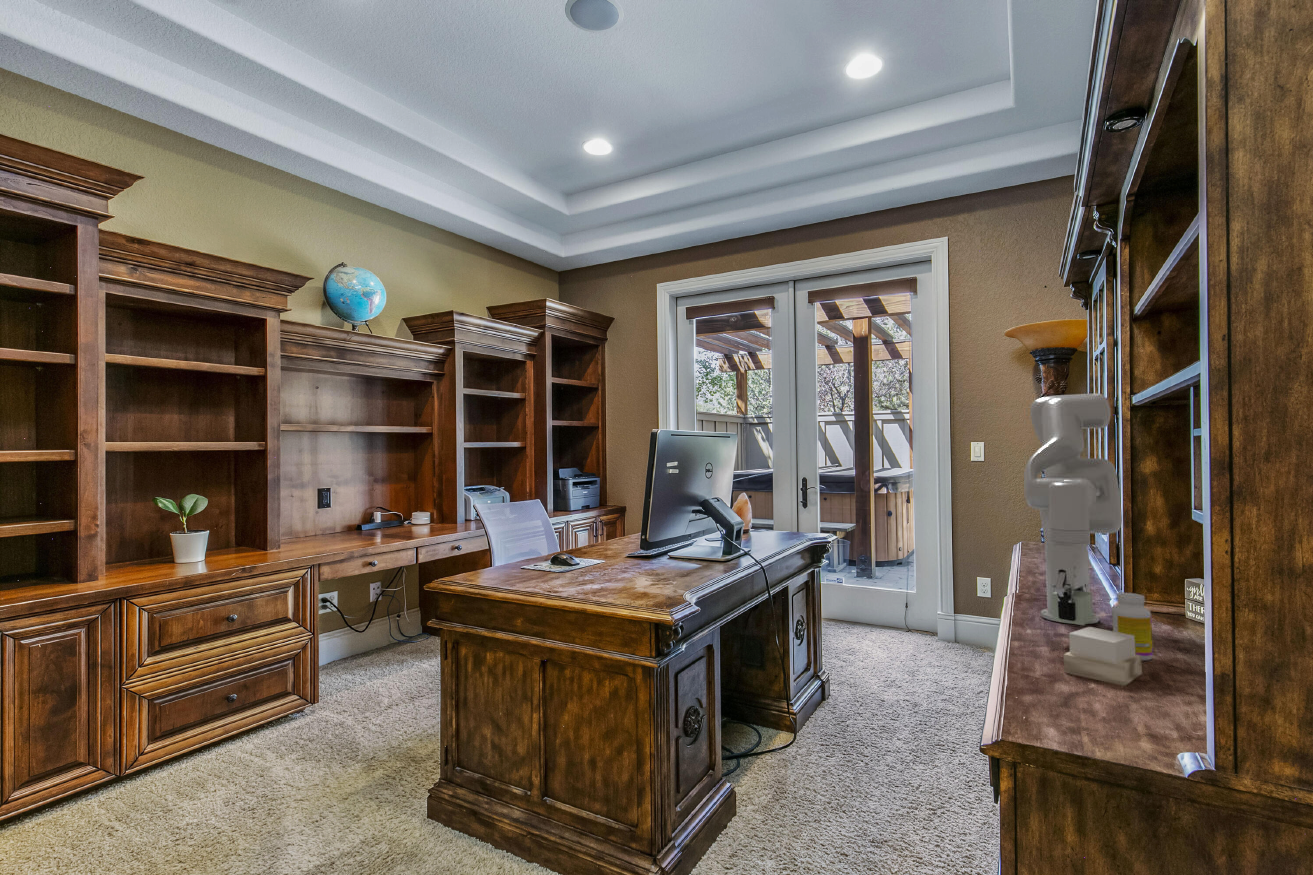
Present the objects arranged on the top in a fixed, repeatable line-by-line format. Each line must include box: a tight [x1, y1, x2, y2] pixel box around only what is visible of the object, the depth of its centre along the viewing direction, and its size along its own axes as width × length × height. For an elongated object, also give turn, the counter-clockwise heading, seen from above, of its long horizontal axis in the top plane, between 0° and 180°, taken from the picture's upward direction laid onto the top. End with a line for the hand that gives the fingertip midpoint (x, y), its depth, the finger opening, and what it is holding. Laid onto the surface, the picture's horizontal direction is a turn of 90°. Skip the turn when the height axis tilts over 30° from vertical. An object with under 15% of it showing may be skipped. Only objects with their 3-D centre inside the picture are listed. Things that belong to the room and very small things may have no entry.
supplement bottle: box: [1111, 592, 1154, 662], centre depth 136 cm, size 7×7×13 cm
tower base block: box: [1063, 650, 1143, 687], centre depth 127 cm, size 10×10×4 cm
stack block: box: [1052, 590, 1094, 626], centre depth 145 cm, size 6×6×6 cm
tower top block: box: [1068, 626, 1135, 664], centre depth 127 cm, size 8×8×4 cm
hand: (1072, 615), depth 146 cm, fingers closed on stack block, 6 cm apart
